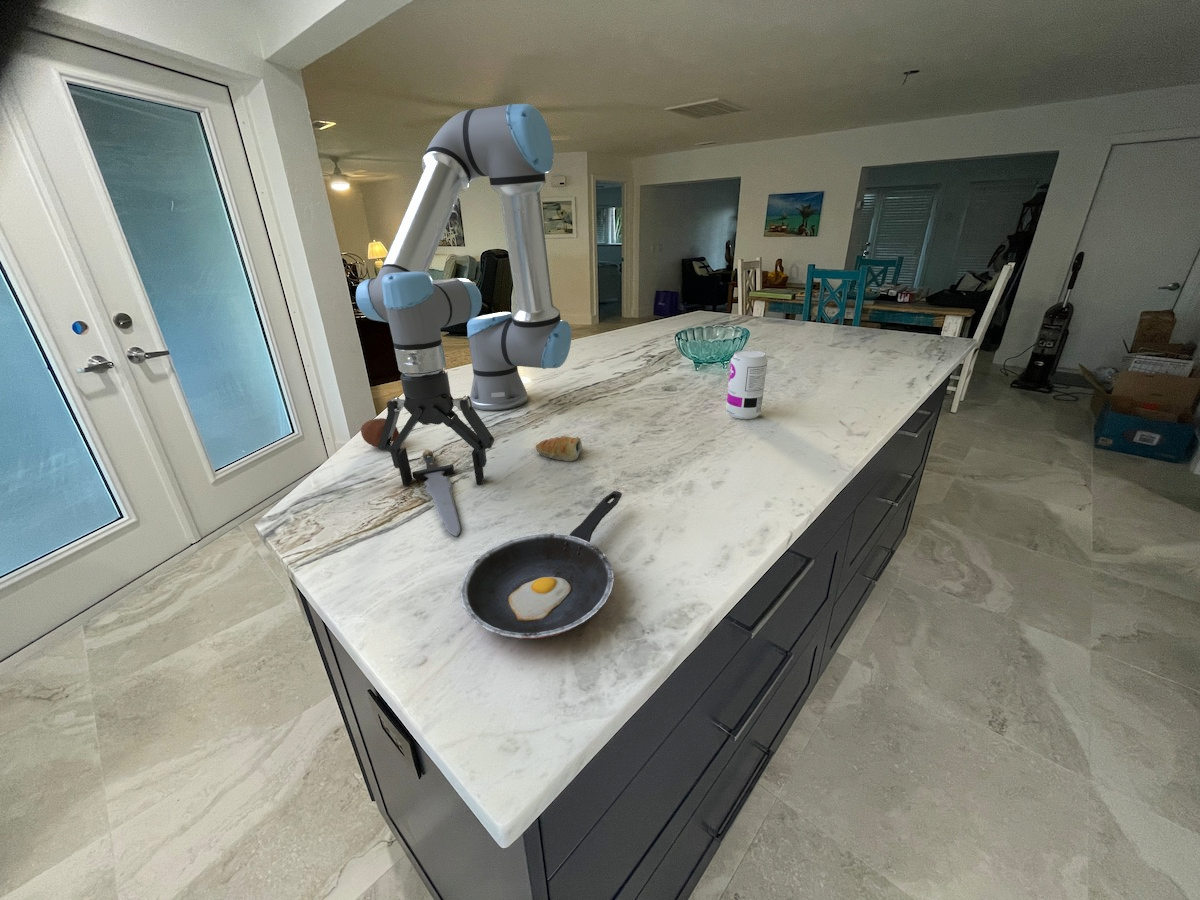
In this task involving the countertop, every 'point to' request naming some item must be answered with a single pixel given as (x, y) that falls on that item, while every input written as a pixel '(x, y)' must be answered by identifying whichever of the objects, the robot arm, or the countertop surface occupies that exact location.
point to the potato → (375, 431)
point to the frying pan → (540, 581)
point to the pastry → (560, 448)
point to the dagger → (440, 490)
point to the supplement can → (746, 384)
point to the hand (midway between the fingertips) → (444, 482)
